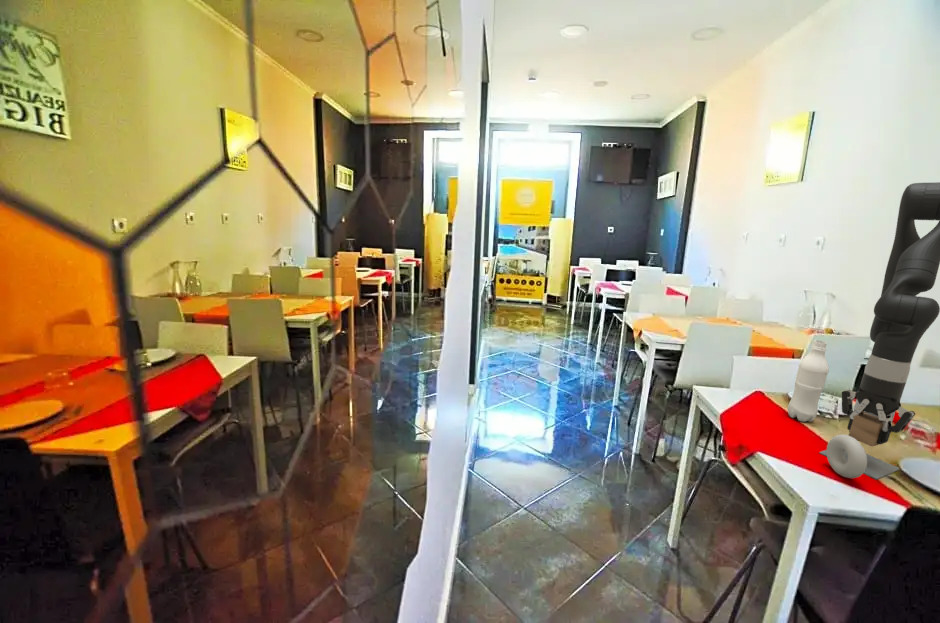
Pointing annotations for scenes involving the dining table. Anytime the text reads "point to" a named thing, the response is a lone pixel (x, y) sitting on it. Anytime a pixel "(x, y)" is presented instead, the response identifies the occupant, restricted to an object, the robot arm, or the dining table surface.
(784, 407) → the dining table surface
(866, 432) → the walnut block
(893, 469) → the slate mat
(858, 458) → the donut
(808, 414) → the water bottle
